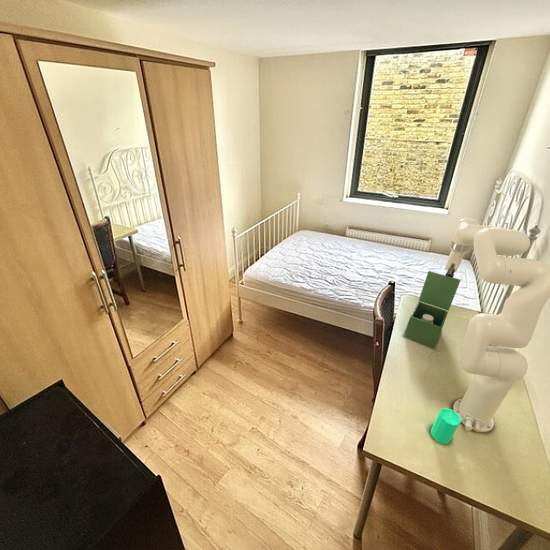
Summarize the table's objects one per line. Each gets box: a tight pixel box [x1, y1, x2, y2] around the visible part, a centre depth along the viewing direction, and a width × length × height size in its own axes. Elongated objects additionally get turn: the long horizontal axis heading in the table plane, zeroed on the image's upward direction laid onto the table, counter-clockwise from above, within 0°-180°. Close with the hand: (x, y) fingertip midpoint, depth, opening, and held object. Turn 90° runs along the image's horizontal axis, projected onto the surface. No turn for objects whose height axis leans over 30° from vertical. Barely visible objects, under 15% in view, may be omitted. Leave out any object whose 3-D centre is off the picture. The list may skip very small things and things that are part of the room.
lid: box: [418, 270, 462, 312], centre depth 139 cm, size 16×14×1 cm
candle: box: [430, 407, 462, 445], centre depth 96 cm, size 6×6×12 cm
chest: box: [403, 300, 449, 350], centre depth 140 cm, size 16×14×12 cm
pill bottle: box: [421, 314, 434, 324], centre depth 140 cm, size 6×6×10 cm
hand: (447, 281), depth 139 cm, fingers closed
